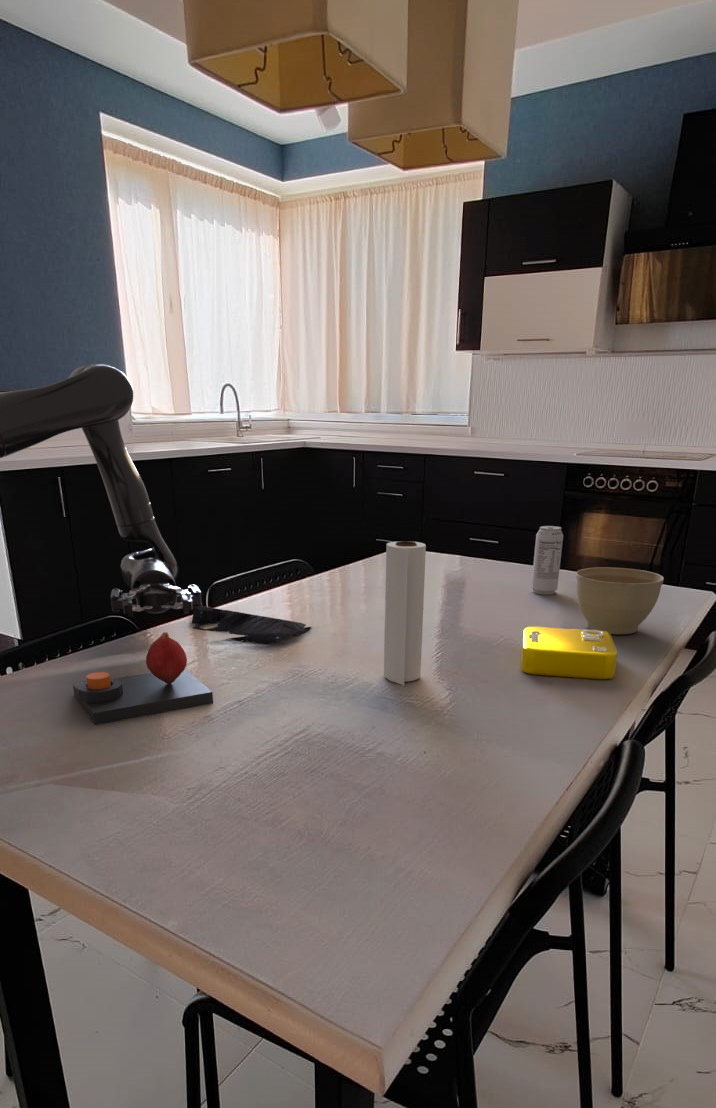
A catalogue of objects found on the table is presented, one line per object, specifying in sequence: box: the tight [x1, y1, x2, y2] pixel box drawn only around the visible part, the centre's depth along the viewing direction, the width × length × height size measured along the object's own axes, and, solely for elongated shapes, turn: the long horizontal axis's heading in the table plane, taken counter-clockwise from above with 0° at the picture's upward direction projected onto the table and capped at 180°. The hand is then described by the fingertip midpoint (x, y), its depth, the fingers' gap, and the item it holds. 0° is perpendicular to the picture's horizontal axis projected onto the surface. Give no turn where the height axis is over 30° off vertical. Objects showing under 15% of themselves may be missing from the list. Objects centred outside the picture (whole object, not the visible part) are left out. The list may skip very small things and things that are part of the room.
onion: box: [145, 631, 188, 684], centre depth 114 cm, size 6×6×8 cm
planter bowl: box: [575, 566, 665, 635], centre depth 150 cm, size 16×16×11 cm
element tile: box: [520, 625, 618, 681], centre depth 131 cm, size 15×15×5 cm
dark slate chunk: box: [191, 605, 312, 645], centre depth 147 cm, size 15×22×5 cm
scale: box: [72, 668, 214, 726], centre depth 113 cm, size 18×13×4 cm
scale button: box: [85, 671, 111, 689], centre depth 110 cm, size 3×3×2 cm
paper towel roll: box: [383, 540, 427, 687], centre depth 120 cm, size 7×6×21 cm
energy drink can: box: [530, 525, 564, 596], centre depth 179 cm, size 6×6×15 cm
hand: (158, 608), depth 120 cm, fingers open, 8 cm apart
